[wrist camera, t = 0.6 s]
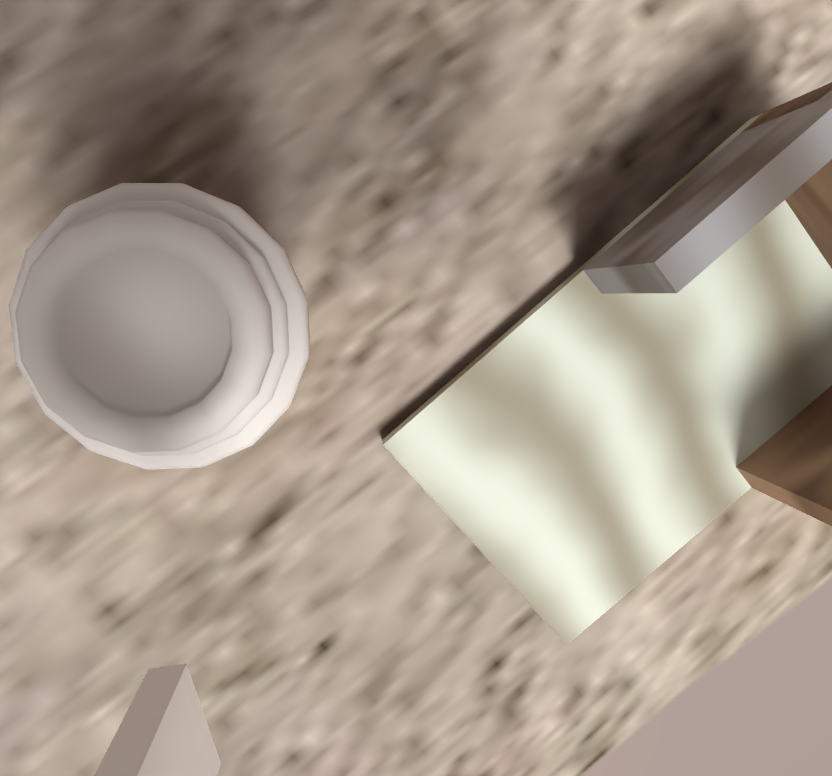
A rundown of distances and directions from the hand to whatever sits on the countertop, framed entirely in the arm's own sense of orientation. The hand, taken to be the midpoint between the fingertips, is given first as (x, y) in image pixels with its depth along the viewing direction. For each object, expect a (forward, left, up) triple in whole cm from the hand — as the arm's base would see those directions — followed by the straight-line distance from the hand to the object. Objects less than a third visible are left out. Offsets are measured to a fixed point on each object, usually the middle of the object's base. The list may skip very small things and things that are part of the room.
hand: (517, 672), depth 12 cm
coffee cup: (-2, -11, -19) cm, 22 cm away
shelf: (-8, +10, -19) cm, 23 cm away
